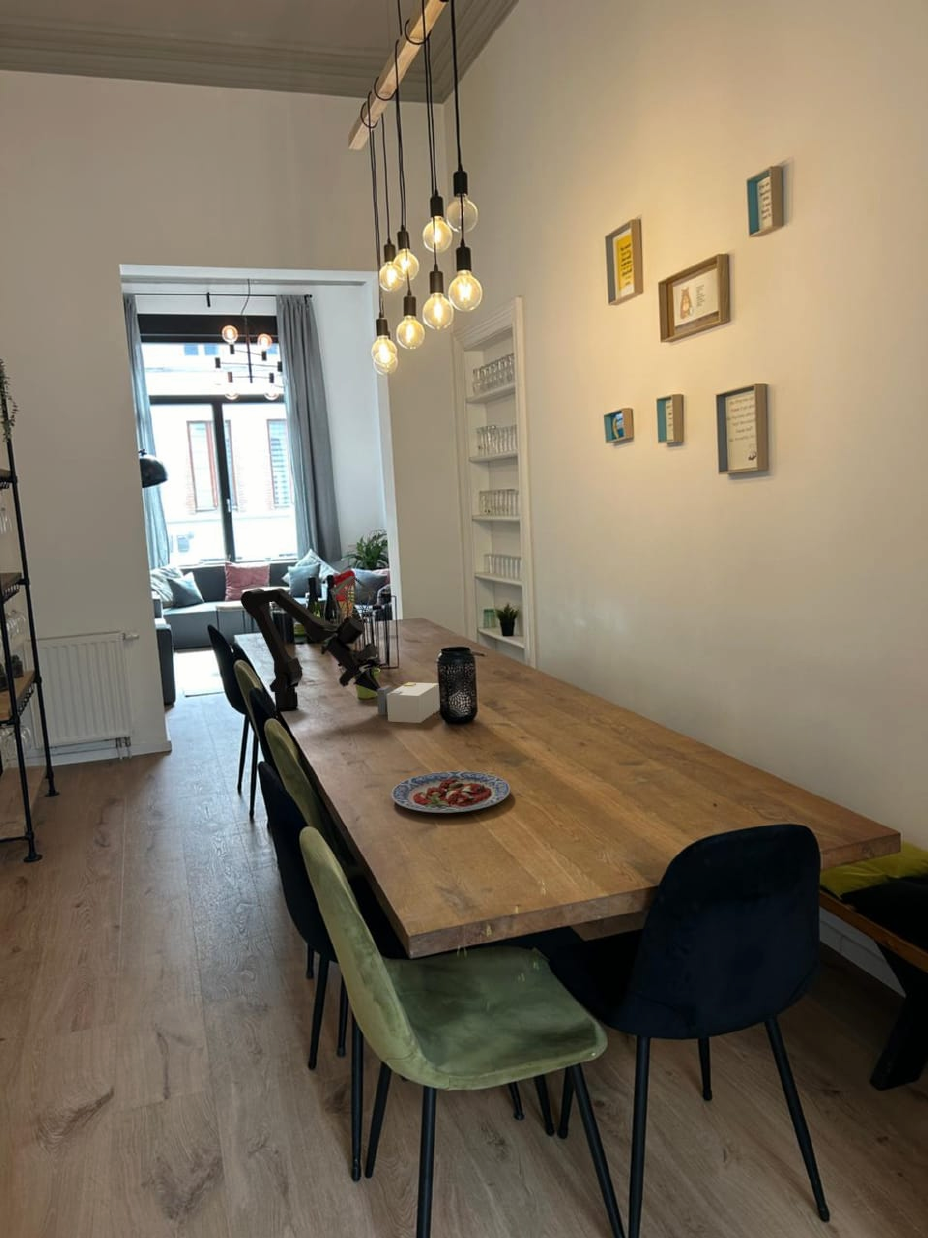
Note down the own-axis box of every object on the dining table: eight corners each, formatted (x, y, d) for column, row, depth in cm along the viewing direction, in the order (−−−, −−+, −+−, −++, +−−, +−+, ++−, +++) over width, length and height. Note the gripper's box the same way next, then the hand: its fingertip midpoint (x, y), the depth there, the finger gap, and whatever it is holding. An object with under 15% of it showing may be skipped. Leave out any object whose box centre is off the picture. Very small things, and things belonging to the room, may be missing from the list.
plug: (378, 714, 266) (376, 689, 265) (385, 710, 271) (383, 685, 270) (407, 715, 263) (405, 690, 262) (413, 711, 268) (412, 686, 266)
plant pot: (384, 693, 295) (382, 667, 293) (378, 700, 285) (377, 673, 284) (356, 693, 296) (354, 668, 294) (350, 700, 286) (348, 674, 285)
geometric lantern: (331, 666, 343) (327, 576, 338) (371, 663, 347) (368, 574, 343) (338, 673, 328) (334, 579, 323) (380, 670, 332) (377, 577, 328)
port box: (387, 721, 259) (386, 693, 258) (409, 707, 274) (407, 681, 273) (420, 723, 256) (418, 694, 254) (439, 709, 270) (438, 682, 269)
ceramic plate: (445, 773, 211) (444, 761, 211) (534, 793, 195) (533, 780, 194) (366, 805, 192) (366, 792, 191) (458, 831, 175) (457, 816, 175)
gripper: (345, 641, 258) (383, 680, 256) (373, 630, 275) (408, 666, 273) (323, 667, 262) (360, 705, 260) (352, 655, 279) (386, 691, 277)
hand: (379, 691), depth 267 cm, fingers closed, pressing on plug
